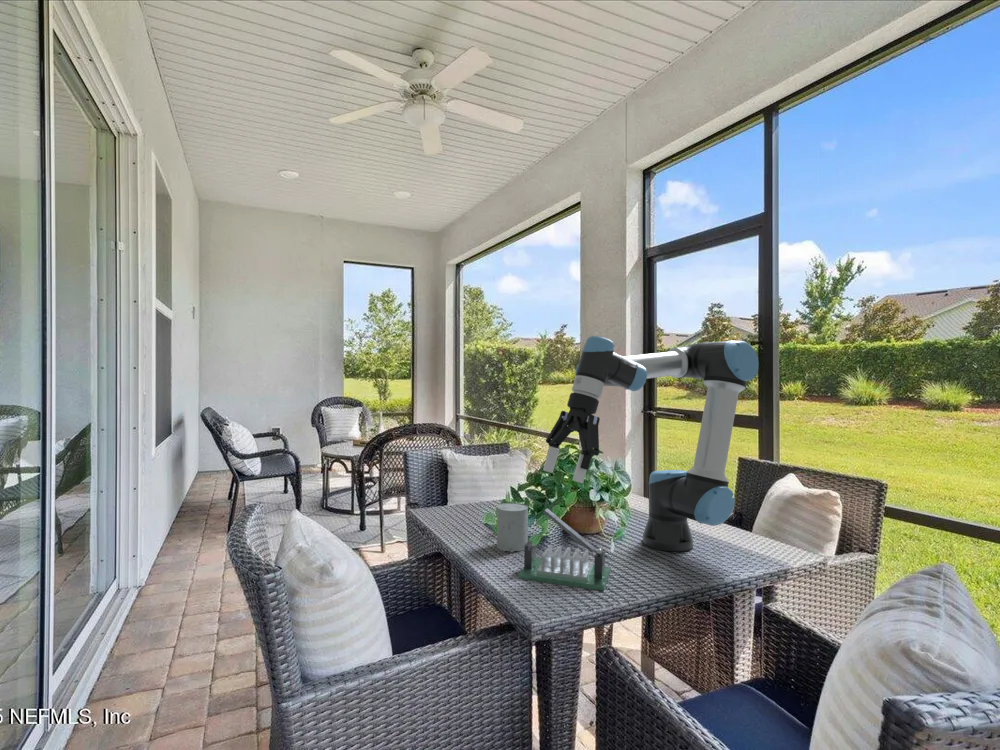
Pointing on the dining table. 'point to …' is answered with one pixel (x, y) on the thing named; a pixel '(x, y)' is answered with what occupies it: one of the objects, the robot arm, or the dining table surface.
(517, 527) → the grey cylinder
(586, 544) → the grey hinged clamp bar
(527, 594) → the dining table surface
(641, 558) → the dining table surface
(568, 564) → the heatsink board
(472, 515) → the dining table surface
